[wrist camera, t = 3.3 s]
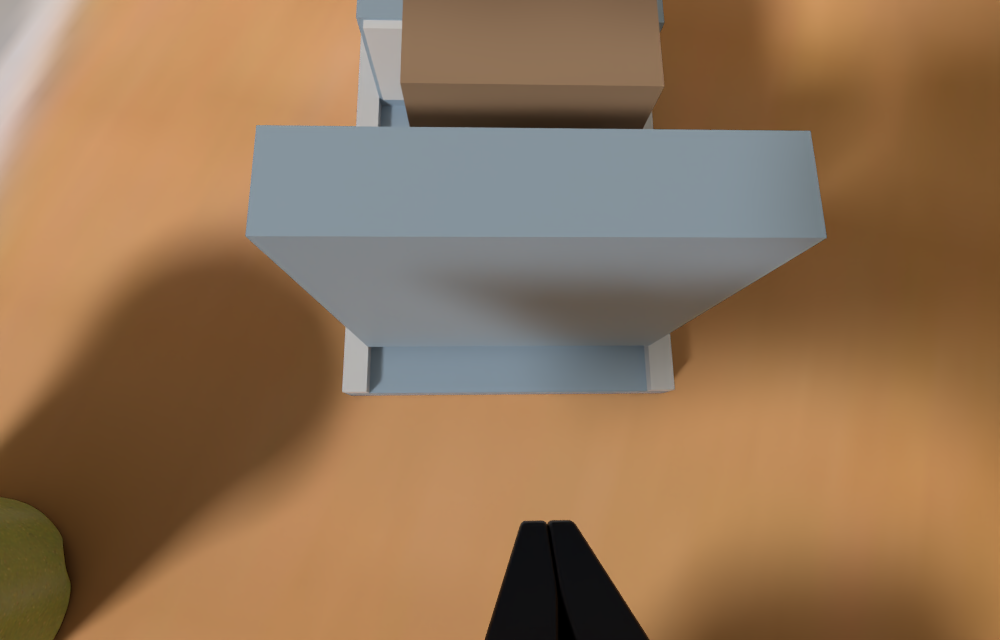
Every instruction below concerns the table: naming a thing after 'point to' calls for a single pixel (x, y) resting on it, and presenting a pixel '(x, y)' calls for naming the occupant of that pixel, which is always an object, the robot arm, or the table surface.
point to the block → (530, 63)
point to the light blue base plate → (493, 364)
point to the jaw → (528, 227)
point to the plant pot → (30, 574)
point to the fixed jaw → (394, 44)
